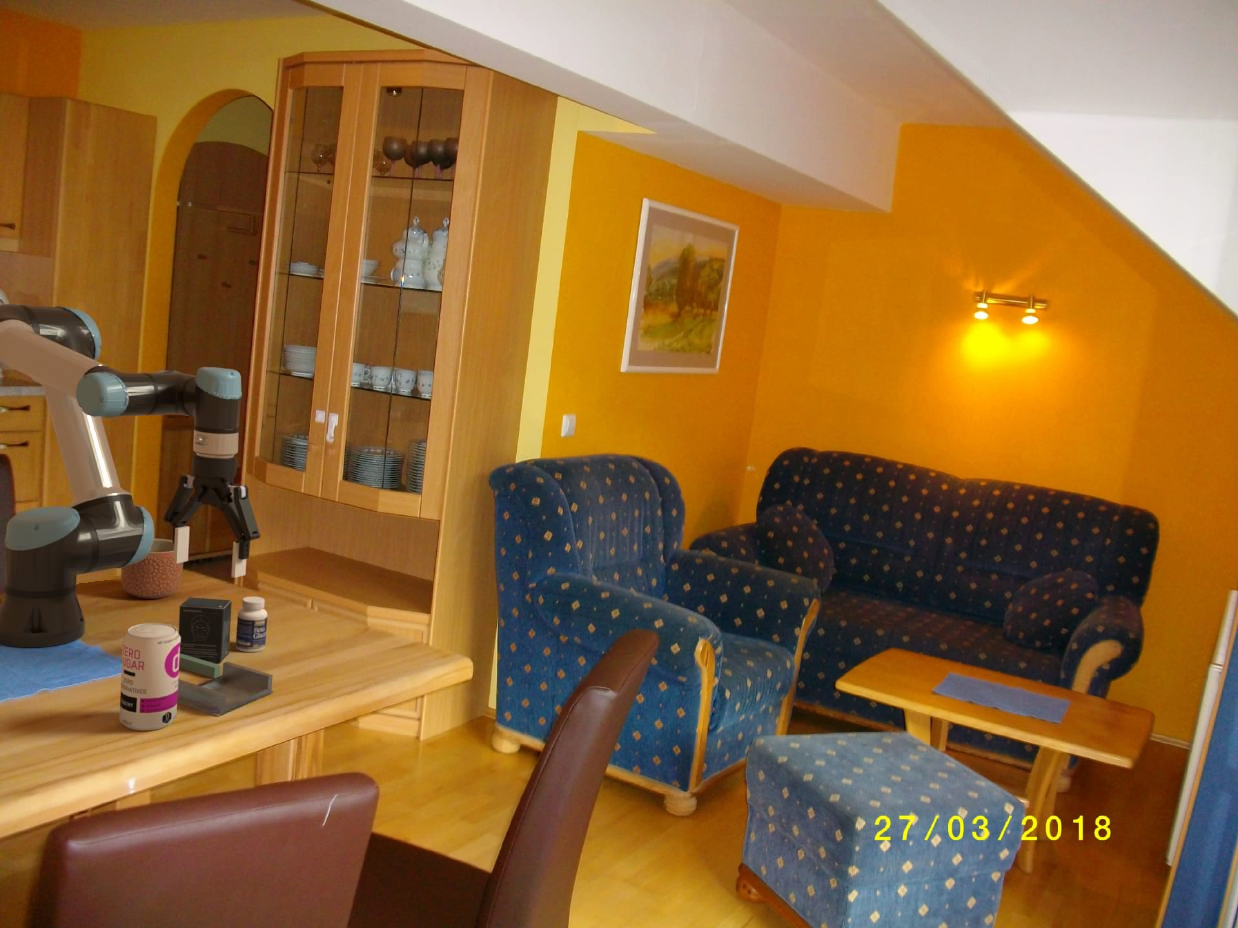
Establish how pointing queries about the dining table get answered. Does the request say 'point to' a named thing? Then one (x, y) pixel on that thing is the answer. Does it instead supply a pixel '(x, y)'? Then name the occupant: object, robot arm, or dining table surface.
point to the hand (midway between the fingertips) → (209, 568)
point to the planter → (153, 573)
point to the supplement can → (149, 676)
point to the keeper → (225, 690)
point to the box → (205, 628)
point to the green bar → (199, 666)
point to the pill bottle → (251, 625)
